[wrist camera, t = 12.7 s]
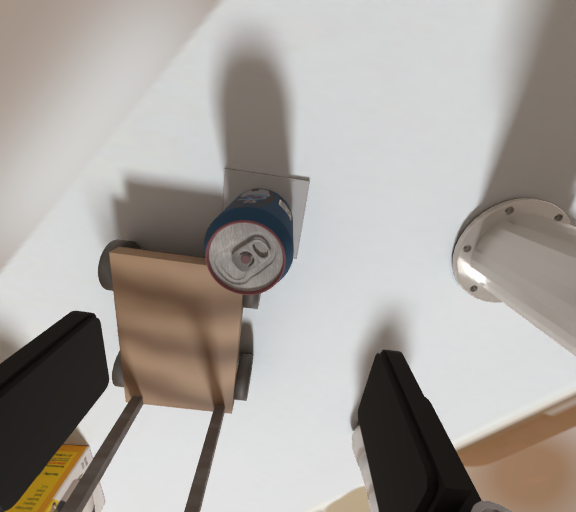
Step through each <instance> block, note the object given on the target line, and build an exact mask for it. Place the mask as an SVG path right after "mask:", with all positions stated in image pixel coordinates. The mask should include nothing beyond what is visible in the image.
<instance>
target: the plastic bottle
mask: <svg viewBox="0 0 576 512" xmlns="http://www.w3.org/2000/svg"><path fill="white" fill-rule="evenodd" d="M352 448H353V452H354V455H355V458H356V460H357V463H358V465H359V467H360V470H361V474H362V477H363V480H364V484H365V487H366V490H367V496H368V500H369V506H370V512H379V510H378V505H377V501H376V496H375V492H374V487H373V483H372V478H371V474H370V469H369V465H368V461H367V456H366V452H365V447H364V443H363V438H362V434H361V429H360V425H358V426H357V427H356V429H355V430H354V433H353V435H352Z"/></svg>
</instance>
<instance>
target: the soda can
mask: <svg viewBox="0 0 576 512" xmlns="http://www.w3.org/2000/svg"><path fill="white" fill-rule="evenodd" d="M204 253H205V259H206V265H207V268H208V270H209V272H210V274H211V276H212V277H213V278H214V280H215V281H216V282H217V283H218V284H219V285H221V286H222V287H223V288H225V289H226V290H228V291H231V292H233V293H237V294H241V295H256V294H260V293H263V292H265V291H267V290H269V289H270V288H272V287H273V286H274V285H275V284H276V283H277V282H279V281H280V280H281V279H282V278H283V277H284V276H285V275H286V273H287V272H288V270H289V269H290V266H291V264H292V261H293V255H294V243H293V216H292V212H291V209H290V207H289V205H288V204H287V202H286V201H285V200H284V199H283V198H282V197H281V196H280V195H279V194H277V193H275V192H273V191H271V190H268V189H262V188H256V189H251V190H248V191H245V192H243V193H242V194H240V195H239V196H238V197H237V198H236V199H235V200H234V201H233V202H232V203H231V204H230V205H229V206H228V207H227V208H226V209H225V210H224V211H223V212H222V213H221V214H220V215H219V216H218V217H217V218H216V219H215V220H214V221H213V222H212V224H211V225H210V227H209V228H208V230H207V233H206V236H205V240H204Z"/></svg>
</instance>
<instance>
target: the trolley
mask: <svg viewBox="0 0 576 512" xmlns="http://www.w3.org/2000/svg"><path fill="white" fill-rule="evenodd" d="M98 277H99V281H100V284H101V285H102V287H103V288H104V289H106V290H112V291H113V292H114V301H115V310H116V318H117V327H118V336H119V345H120V351H119V353H118V355H117V357H116V360H115V363H114V366H113V371H112V381H113V384H114V385H115V386H118V387H124V389H125V398H126V402H129V403H128V404H127V406H126V407H125V409H124V410H123V412H122V414H121V415H120V417H119V418H118V420H117V422H116V423H115V425H114V426H113V428H112V430H111V431H110V433H109V434H108V436H107V438H106V439H105V441H104V442H103V444H102V446H101V447H100V449H99V450H98V452H97V454H96V455H95V457H94V458H93V460H92V461H91V463H90V465H89V466H88V468H87V469H86V471H85V473H84V474H83V476H82V477H81V479H80V481H79V482H78V484H77V485H76V487H75V489H74V490H73V492H72V493H71V495H70V497H69V498H68V500H67V501H66V503H65V505H64V506H63V508H62V509H61V511H60V512H82V511H83V509H84V508H85V506H86V504H87V502H88V501H89V499H90V497H91V495H92V493H93V492H94V490H95V488H96V486H97V485H98V483H99V481H100V479H101V478H102V476H103V474H104V472H105V471H106V469H107V467H108V465H109V463H110V462H111V460H112V458H113V456H114V455H115V453H116V451H117V449H118V448H119V446H120V444H121V442H122V441H123V439H124V437H125V435H126V434H127V432H128V430H129V428H130V426H131V425H132V423H133V421H134V419H135V418H136V416H137V414H138V412H139V411H140V409H141V407H142V405H143V404H148V405H157V406H167V407H176V408H185V409H194V410H203V411H213V414H212V418H211V421H210V425H209V428H208V431H207V435H206V438H205V442H204V445H203V449H202V452H201V456H200V459H199V463H198V466H197V469H196V473H195V476H194V480H193V483H192V487H191V490H190V494H189V497H188V501H187V504H186V507H185V511H184V512H200V510H201V506H202V502H203V498H204V493H205V489H206V485H207V481H208V477H209V473H210V469H211V465H212V461H213V457H214V453H215V449H216V445H217V441H218V437H219V433H220V429H221V425H222V420H223V416H224V413H231V414H232V409H233V405H234V399H235V400H244V401H247V396H248V390H249V384H250V377H251V371H252V363H253V354H244V353H241V355H240V359H239V364H238V356H239V345H240V335H241V324H242V314H243V307H245V308H253V309H258V306H259V300H260V294H261V293H260V294H256V295H241V294H237V293H233V292H231V291H228V290H226V289H225V288H223V287H222V286H221V285H219V284H218V283H217V282H216V281H215V280H214V278H213V277H212V276H211V274H210V272H209V270H208V268H207V265H206V259H205V258H200V257H193V256H185V255H178V254H171V253H163V252H156V251H148V250H141V248H140V246H139V245H138V244H137V243H136V242H132V241H125V240H114V241H112V242H110V243H109V244H108V245H107V246H106V248H105V249H104V251H103V253H102V255H101V257H100V261H99V266H98ZM237 366H238V369H237Z"/></svg>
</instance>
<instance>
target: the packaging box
mask: <svg viewBox="0 0 576 512" xmlns="http://www.w3.org/2000/svg"><path fill="white" fill-rule="evenodd" d="M92 460H93V457H92V453H91V450H90V446H78V445H62V446H61V447H60V448H59V450H58V451H57V452H56V453H55V455H54V456H53V457H52V459H51V460H50V461H49V462H48V464H47V465H46V466H45V467H44V469H43V470H42V471H41V473H40V474H39V475H38V476H37V478H36V479H35V480H34V482H33V483H32V484H31V485H30V487H29V488H28V489H27V490H26V492H25V493H24V494H23V496H22V497H21V498H20V499H19V501H18V502H17V503H16V504H15V505H14V506H13V507H12V508H11V509H9V510H7V511H4V512H60V511H61V509H62V508H63V506H64V505H65V503H66V501H67V500H68V498H69V497H70V495H71V493H72V492H73V490H74V489H75V487H76V485H77V484H78V482H79V481H80V479H81V477H82V476H83V474H84V473H85V471H86V469H87V468H88V466H89V465H90V463H91V461H92ZM104 504H105V498H104V495H103V491H102V488H101V484H100V481H99V483H98V485H97V486H96V488H95V490H94V492H93V493H92V495H91V497H90V499H89V501H88V502H87V504H86V506H85V508H84V509H83V511H82V512H101V510H102V508H103V506H104Z"/></svg>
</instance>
